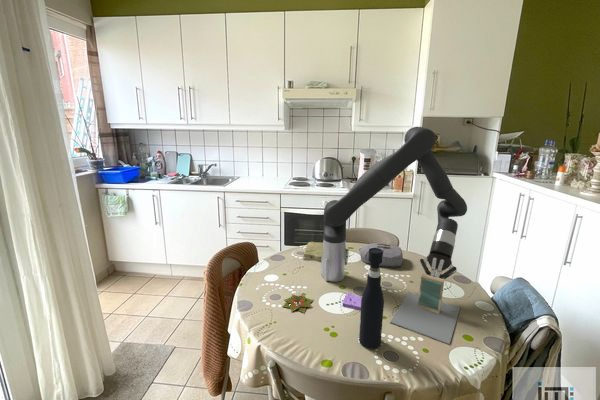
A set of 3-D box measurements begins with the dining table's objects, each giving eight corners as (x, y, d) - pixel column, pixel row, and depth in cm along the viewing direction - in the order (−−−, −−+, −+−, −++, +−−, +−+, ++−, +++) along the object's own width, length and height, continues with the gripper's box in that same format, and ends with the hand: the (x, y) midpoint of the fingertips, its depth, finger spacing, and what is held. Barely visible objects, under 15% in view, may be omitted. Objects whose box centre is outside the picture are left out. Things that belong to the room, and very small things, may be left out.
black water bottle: (356, 335, 94) (361, 246, 87) (376, 334, 95) (383, 245, 87) (362, 350, 88) (368, 255, 80) (383, 348, 89) (391, 254, 81)
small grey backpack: (401, 256, 149) (360, 252, 154) (402, 241, 147) (361, 237, 152) (402, 271, 135) (357, 265, 140) (404, 253, 133) (358, 248, 138)
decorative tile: (308, 246, 162) (308, 240, 161) (345, 249, 158) (346, 243, 157) (301, 261, 145) (301, 255, 144) (343, 265, 141) (343, 258, 140)
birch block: (419, 303, 110) (423, 273, 107) (440, 310, 106) (444, 279, 103) (417, 307, 108) (421, 277, 104) (438, 314, 104) (442, 282, 101)
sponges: (346, 297, 116) (346, 292, 115) (379, 304, 111) (380, 299, 111) (341, 307, 109) (342, 302, 109) (377, 315, 105) (377, 310, 104)
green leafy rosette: (290, 293, 118) (290, 282, 117) (319, 300, 113) (319, 289, 112) (275, 309, 108) (275, 298, 107) (306, 318, 103) (306, 306, 102)
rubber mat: (408, 292, 117) (408, 291, 117) (460, 308, 108) (460, 307, 107) (389, 322, 100) (390, 321, 100) (449, 344, 90) (449, 343, 90)
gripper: (423, 236, 115) (412, 279, 108) (462, 244, 107) (452, 290, 101) (425, 244, 120) (414, 285, 114) (462, 252, 113) (453, 297, 106)
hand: (432, 287), depth 107 cm, fingers closed
